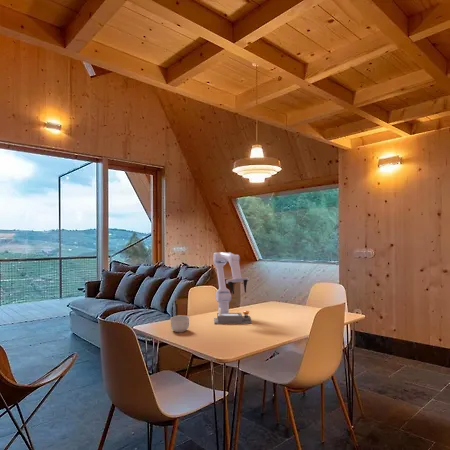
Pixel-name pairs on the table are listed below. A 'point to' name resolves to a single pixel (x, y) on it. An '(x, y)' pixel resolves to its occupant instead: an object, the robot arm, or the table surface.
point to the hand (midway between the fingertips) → (239, 292)
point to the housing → (232, 319)
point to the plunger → (246, 313)
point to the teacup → (179, 323)
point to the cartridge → (225, 314)
